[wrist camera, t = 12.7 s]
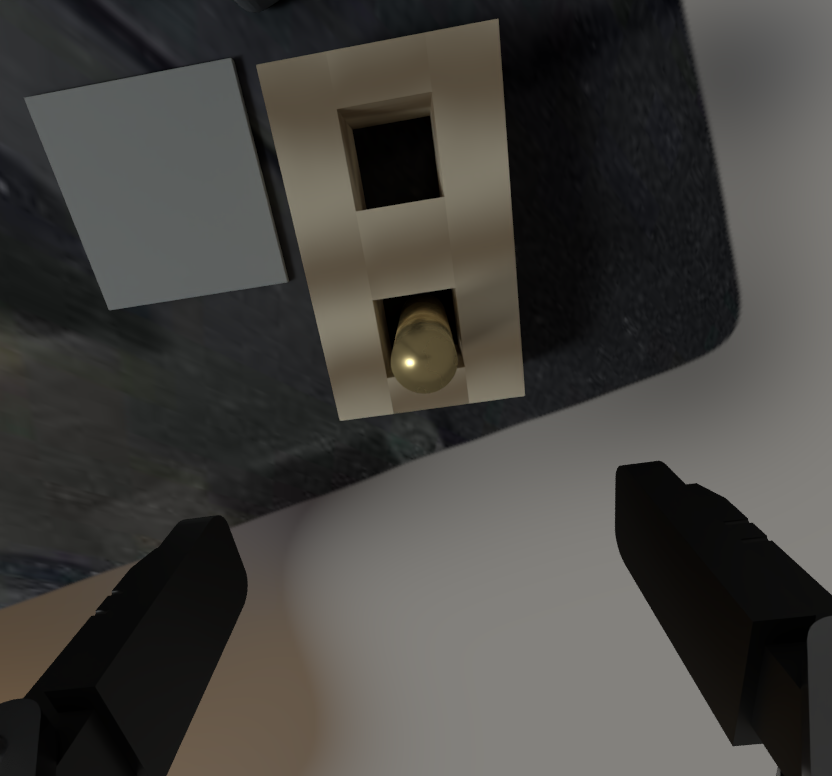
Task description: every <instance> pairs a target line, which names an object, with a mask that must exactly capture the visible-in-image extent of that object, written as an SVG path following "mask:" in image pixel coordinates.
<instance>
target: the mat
mask: <svg viewBox="0 0 832 776" xmlns="http://www.w3.org/2000/svg"><path fill="white" fill-rule="evenodd" d="M24 99H25V102H26V104H27V107H28V109H29V112H30V114H31V117H32V119H33V122H34V124H35V127H36V129H37V132H38V134H39V137H40V139H41V142H42V144H43V147H44V149H45V152H46V154H47V157H48V159H49V162H50V164H51V166H52V169H53V171H54V174H55V176H56V179H57V181H58V184H59V186H60V189H61V191H62V194H63V196H64V199H65V201H66V204H67V206H68V209H69V211H70V214H71V216H72V219H73V221H74V224H75V226H76V229H77V231H78V234H79V236H80V239H81V241H82V244H83V246H84V249H85V251H86V254H87V256H88V259H89V261H90V264H91V266H92V269H93V271H94V274H95V276H96V279H97V281H98V284H99V286H100V289H101V291H102V294H103V296H104V299H105V301H106V304H107V306H108V309H109V310H114V309H121V308H127V307H133V306H140V305H146V304H152V303H159V302H165V301H171V300H178V299H184V298H190V297H197V296H203V295H209V294H216V293H222V292H228V291H235V290H241V289H247V288H254V287H260V286H266V285H273V284H279V283H285V282H289V279H288V275H287V271H286V267H285V263H284V259H283V255H282V251H281V247H280V243H279V239H278V235H277V231H276V227H275V223H274V219H273V215H272V211H271V207H270V203H269V199H268V195H267V191H266V187H265V183H264V179H263V175H262V171H261V167H260V163H259V159H258V155H257V151H256V147H255V143H254V139H253V135H252V131H251V127H250V123H249V119H248V115H247V111H246V107H245V103H244V99H243V95H242V91H241V87H240V83H239V79H238V75H237V71H236V67H235V63H234V60H233V59H232V58H228V59H223V60H217V61H212V62H207V63H202V64H197V65H192V66H186V67H181V68H176V69H171V70H166V71H161V72H155V73H150V74H145V75H140V76H135V77H130V78H124V79H119V80H114V81H109V82H104V83H99V84H93V85H88V86H83V87H78V88H73V89H68V90H62V91H57V92H52V93H47V94H42V95H37V96H31V97H26V98H24Z"/></svg>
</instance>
